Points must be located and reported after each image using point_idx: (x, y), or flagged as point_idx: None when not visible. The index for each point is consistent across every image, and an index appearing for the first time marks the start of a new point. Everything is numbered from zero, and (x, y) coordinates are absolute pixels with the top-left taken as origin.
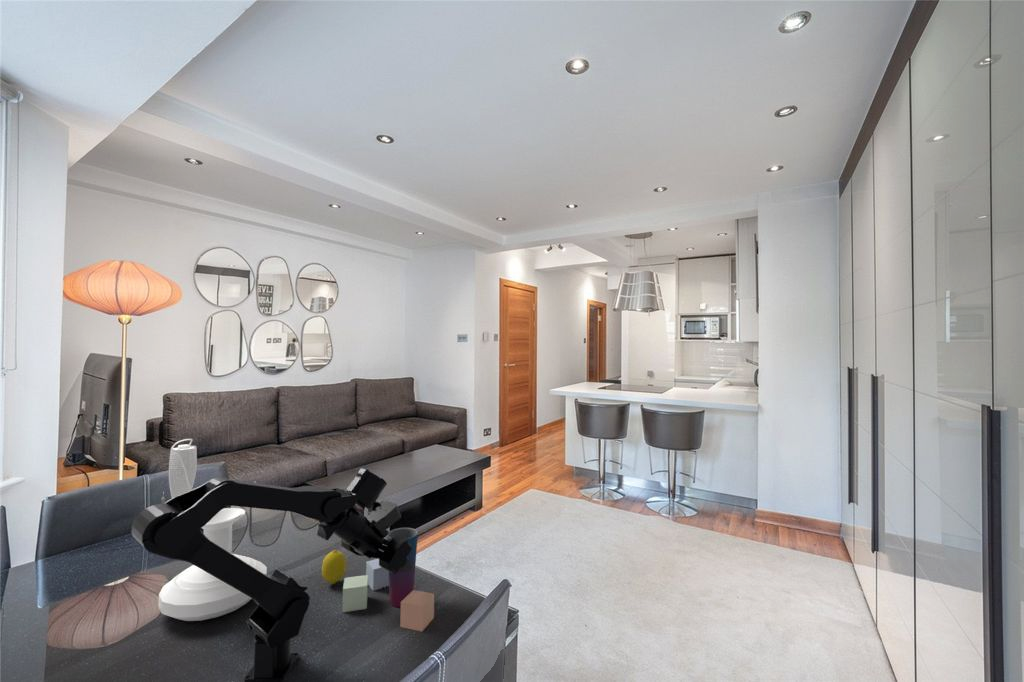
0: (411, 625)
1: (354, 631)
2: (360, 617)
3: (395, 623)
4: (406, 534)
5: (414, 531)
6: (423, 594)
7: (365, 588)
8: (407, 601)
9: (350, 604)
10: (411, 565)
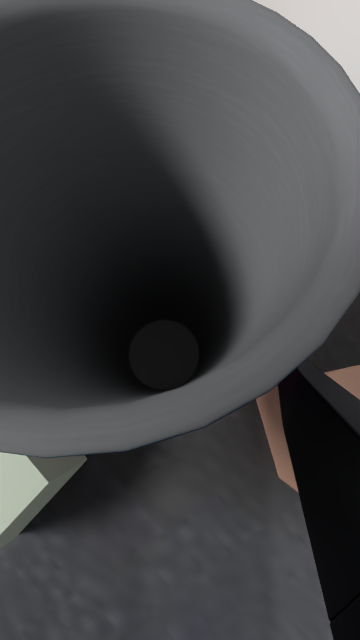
0: None
1: (157, 606)
2: (108, 517)
3: (249, 471)
4: (58, 102)
5: (173, 21)
6: (351, 390)
7: (47, 485)
8: None
9: (28, 518)
10: (315, 368)
